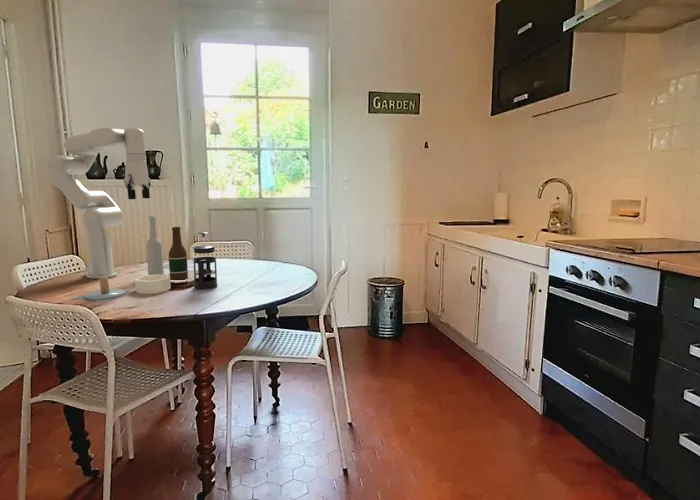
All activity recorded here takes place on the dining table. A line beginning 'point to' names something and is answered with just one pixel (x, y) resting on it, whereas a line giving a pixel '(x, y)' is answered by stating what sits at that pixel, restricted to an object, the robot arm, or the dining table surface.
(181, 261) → the beer bottle
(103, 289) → the lid
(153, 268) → the bottle
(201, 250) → the french press
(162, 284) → the bowl
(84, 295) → the mat
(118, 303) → the dining table surface
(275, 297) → the dining table surface
